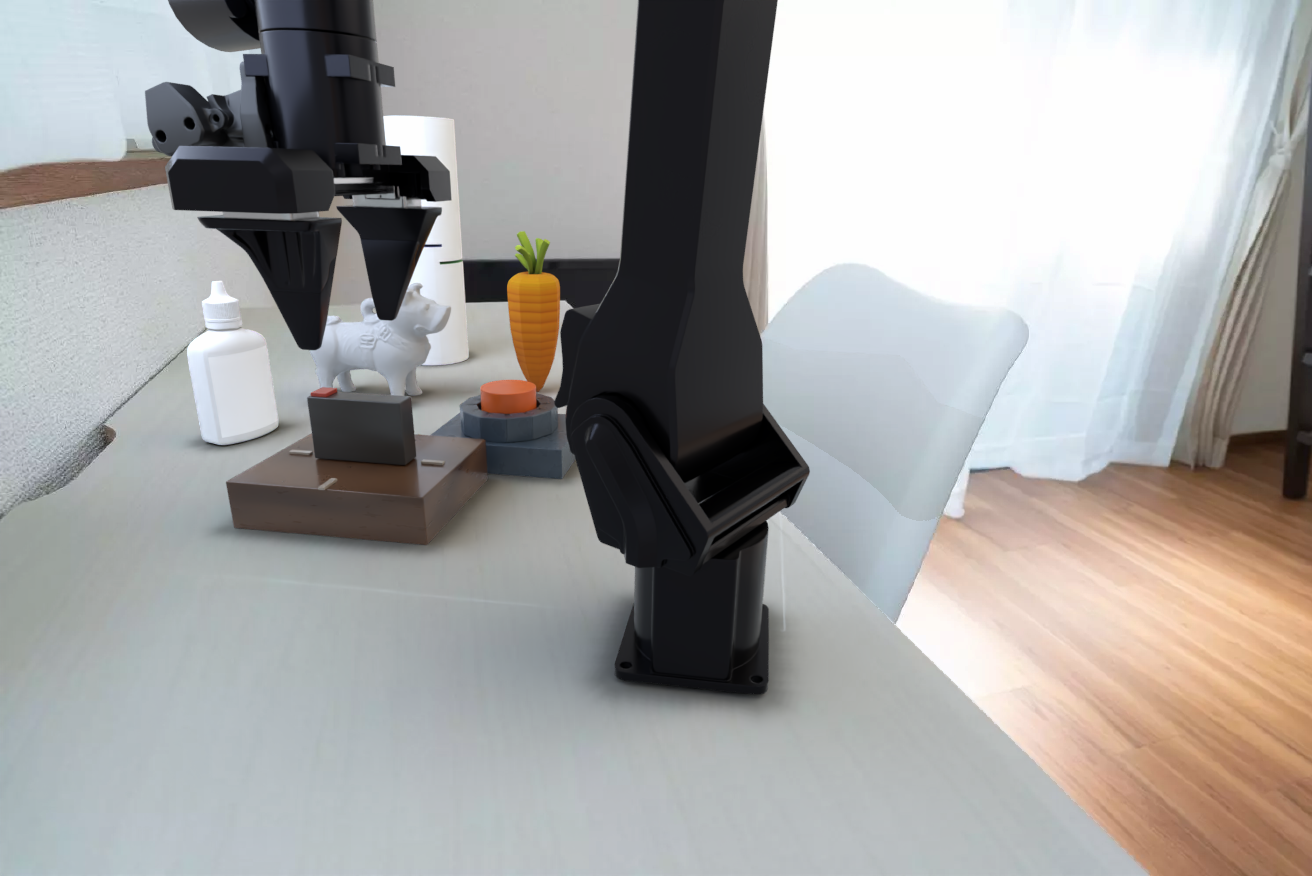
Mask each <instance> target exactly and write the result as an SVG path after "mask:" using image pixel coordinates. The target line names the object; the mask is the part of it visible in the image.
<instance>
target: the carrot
mask: <svg viewBox="0 0 1312 876" xmlns="http://www.w3.org/2000/svg"><path fill="white" fill-rule="evenodd" d="M516 237H517V239H518V241H519V243H520V244H517V245H515V246H514V249H515V251H517V252H518V253H515V254H514V257H515V258H516V259H517V260H518V261H519V262H520V264H521V265H522V266H523V267H524V268H525V269H526V271H522V272H518V273H516V274H514V275H513V276H512V277H511V278H510V279H509V280H508V282H507V285H506V294H507V295H506V296H507V307H508V320H509V329H510V334H511V339H512V345H513V348H514V353H515V356H516V359H517V363H518V366H519V368H520V370H521V372H522V375H523V376H524V378H525V381H528V382H531V383H533V384H535V386H536V393H539V392H540V391H541V390H542V389H543V387H544V386H545V384H546V382H547V379H548V377H549V375H550V373H551V370H552V367H553V364H554V360H555V357H556V351H557V346H558V338H559V333H560V320H561V319H560V318H561V317H560V315H561V313H560V312H561V286H560V285H561V284H560V281H559V279H558V278H557V277H556V276H555V275H554V274H552V273H549V272H544V271H543V265H544V260H545V257H546V254H547V251H548V249H549V247H550V244H551V241H550V240H548V239H546V238H544V239H542V238H539V237H536V238H535V249H536V254H535V251H534V248H533V246H532V243H531V241H530V239H529V237H528V235H527V233H526V231H525V230H522V231H518V232H517V233H516Z"/></svg>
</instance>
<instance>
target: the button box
mask: <svg viewBox="0 0 1312 876" xmlns="http://www.w3.org/2000/svg"><path fill="white" fill-rule="evenodd" d="M554 401H555V398H554V397H552V396H549V395H545V394H541V393H539V392H536V407H537V408H536V409H534V410H530V411H527V412H522V413H511V414H502V413H489V412H486V411H482V410H481V394H479V395H475V396H471V397H468V398H467V399H465V400H464V401H463V402H461V403H460V404H459V412H458V413H457V414H456V415H454V416H453V417H452V418H450V419H449V420H448V421H446V422H445V423H444V424H443V425H442V426H440V427H438V428H437V429H436V430H435V431H434V432H432V433H431V434H430V435H431V436H446V437H460V438H474V439H485V440H486V457H487V474H488V475H489V474H490V475H502V476H514V477H515V476H516V477H527V478H528V477H529V478H541V479H542V478H543V479H555V480H563V478H564V477H565V476H566V474H567V473H568V471H569V470H570V468H571V467H572V465H573V464H574V462H576V459H575V456H574V455H573V454H572V453H571V451H570V447H569V443H568V440H567V434H566V423H565V416H566V413H559V408H557V407H556V406H555V404H554Z"/></svg>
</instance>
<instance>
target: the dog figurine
mask: <svg viewBox="0 0 1312 876" xmlns="http://www.w3.org/2000/svg"><path fill="white" fill-rule="evenodd" d="M422 287H423V285H422V284H420V283H417V282H416V283H413V284H411V285H409V287H408V289H407V291H406V294H405V297H404V299H403V302H402V305H401V307H400V310H399V313H398V315H397V318H396V319H395V320H392V321H388V320H380V319H379V318H378V317H377V313H376V312H374V309H375V306H374V302H373V298H372V297H368V298H367V297H366V298H365V299H363V301H361V303H360V313H361V316H362V319H363V320H362V321H343V320H342V318H341V317H340V316H339V315H328V317H327V323H326V328H325V332H324V337H323V341H322V346H321V348H320V349H318V350H308V352H309V354H310V356H311V358H312V360H313V362H314V363H315V366H316V367H315V371H314V373H315V375H316V376H317V380H318V384H319V385H318V386H319V389H320V388H322V387H327V388H334V384H333V383H334V380H335V379H337V382H338V386H339V388H340V390H341V392H355V391H357V387H356V385H355V383H354V382H353V380H352V375H351V371H358V370H369V371H372V372H377V373H378V374H379V375H381V376H382V377H384V378H385V379H386V382H387V384H388V388H389V391H390V395H397V396H406V395H407V396H420V395H422V394H423V390H422V389H421V388H420V386H419V384H418V379H417V368H418V367H420V366H423V365H422V364H423V363H425V361H426V359H427V356H428V354H429V351H430V349H431V345H430V343H429V340H428V338H427V337H426V335H428V334H433V333H438V332H439V331H442V330H443V329H444V328H445V326H446V324H447V322H448V319H449V316H450V313H451V307H450V306H443V305H439V304H436V302H435V301H434V300H431V299H428V298H425V297H423V296H422V295H420V289H421V288H422ZM405 394H406V395H405Z"/></svg>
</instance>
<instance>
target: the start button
mask: <svg viewBox="0 0 1312 876" xmlns="http://www.w3.org/2000/svg"><path fill="white" fill-rule="evenodd" d="M479 389H480V391H479V392H480V395H481V410H482V411H486V412H489V413H502V414H511V413H522V412H527V411H530V410H534V409H536V408H537V407H536V393H537V392H536V386H535V384H533V383H531V382H528V381H527V380H523V379H498V380H493V381H489V382H485V383H484V384H482V385H481V386H480V388H479Z"/></svg>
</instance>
